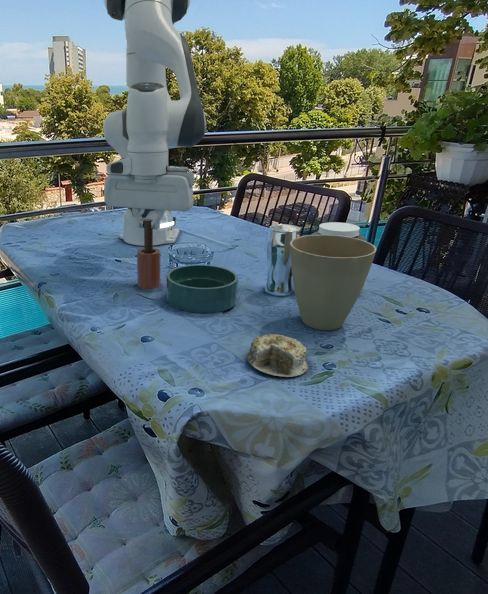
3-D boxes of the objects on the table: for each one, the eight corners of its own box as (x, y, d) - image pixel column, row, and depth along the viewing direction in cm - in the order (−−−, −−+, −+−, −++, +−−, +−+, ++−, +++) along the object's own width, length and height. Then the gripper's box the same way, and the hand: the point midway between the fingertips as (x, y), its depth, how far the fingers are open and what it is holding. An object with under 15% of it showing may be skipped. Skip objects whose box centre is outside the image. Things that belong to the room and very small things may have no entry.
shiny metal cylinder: (288, 299, 103) (296, 233, 97) (258, 293, 106) (264, 229, 101) (297, 289, 108) (305, 226, 103) (268, 283, 112) (274, 222, 106)
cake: (248, 348, 84) (251, 320, 82) (306, 356, 81) (311, 327, 79) (243, 372, 75) (246, 341, 73) (308, 382, 72) (313, 351, 70)
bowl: (179, 285, 112) (179, 261, 109) (242, 293, 106) (244, 269, 104) (156, 309, 99) (156, 283, 96) (227, 320, 93) (229, 292, 91)
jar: (312, 277, 115) (320, 218, 109) (362, 287, 109) (373, 224, 103) (296, 292, 106) (304, 228, 101) (350, 303, 100) (361, 236, 94)
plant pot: (292, 302, 101) (300, 231, 95) (366, 316, 94) (380, 240, 88) (272, 329, 90) (280, 249, 83) (355, 347, 82) (371, 262, 76)
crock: (142, 282, 114) (142, 246, 111) (163, 284, 112) (163, 248, 109) (134, 289, 109) (133, 253, 106) (155, 292, 108) (155, 255, 104)
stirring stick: (146, 276, 111) (145, 218, 106) (154, 277, 110) (154, 219, 105) (143, 279, 109) (142, 220, 104) (151, 280, 109) (150, 221, 103)
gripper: (198, 165, 99) (196, 228, 104) (112, 162, 106) (114, 221, 111) (189, 168, 94) (188, 235, 99) (99, 165, 101) (102, 227, 106)
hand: (148, 228), depth 105 cm, fingers closed on stirring stick, 2 cm apart
